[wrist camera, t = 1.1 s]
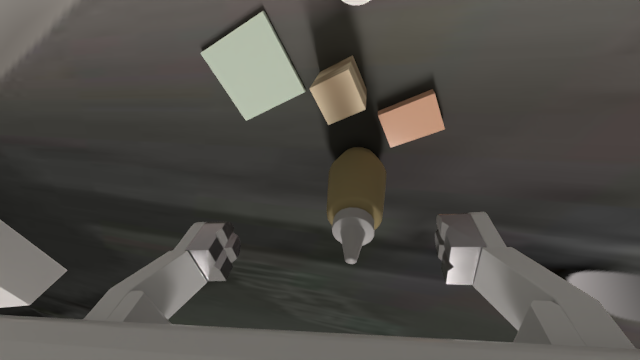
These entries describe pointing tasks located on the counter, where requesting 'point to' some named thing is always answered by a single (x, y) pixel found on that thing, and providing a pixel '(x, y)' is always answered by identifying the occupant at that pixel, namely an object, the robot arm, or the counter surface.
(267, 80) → the mat
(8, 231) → the box
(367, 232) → the squeeze bottle
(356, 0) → the white rounded dome
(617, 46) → the counter surface
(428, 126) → the terracotta tile
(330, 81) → the maple block
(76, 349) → the robot arm
